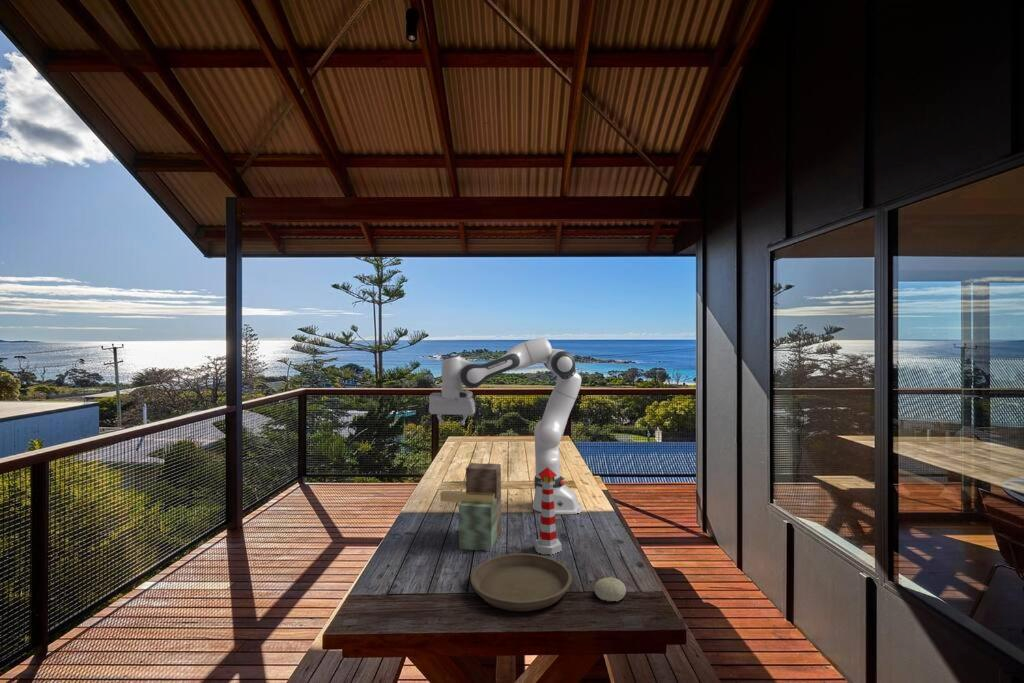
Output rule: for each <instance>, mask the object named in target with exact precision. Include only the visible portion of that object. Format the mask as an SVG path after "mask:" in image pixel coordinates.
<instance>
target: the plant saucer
mask: <svg viewBox="0 0 1024 683" xmlns="http://www.w3.org/2000/svg"><path fill="white" fill-rule="evenodd" d="M470 574H471V575H470V584H471V587H472V588H473V590H474V591H475V592H476V594H477V595H478V596H479V597H481V599H482V598H483V599H484V600H483V599H482V600H483V601H485V603H487V602H488V603H487V604H489V605H490V604H491V605H490V606H492V607H495V608H498V609H501V610H507V611H510V612H511V611H512V612H530V611H538V610H541V609H544V608H548V607H550V606H552V605H553V604H554V605H555V603H557V602H558V601H560V600H561V599H562V597H563V596H565V594H566V593H567V592H568V590H569V589H570V587H571V585H572V581H573V577H572V574H571V572H570V570H569V568H567V566H565V565H564V564H563V563H561V561H558V560H556V559H553V558H551V557H547V556H544V555H539V554H533V553H510V554H509V553H508V554H503V555H498V556H494V557H491V558H488V559H487V560H484V561H483V562H481V563H479V564H478V565H477V566H476V567H474V569H473V570H472V571H471V573H470Z"/></svg>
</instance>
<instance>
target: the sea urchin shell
mask: <svg viewBox="0 0 1024 683" xmlns="http://www.w3.org/2000/svg"><path fill="white" fill-rule="evenodd" d="M593 591H594V593H595V595H596V597H598V599H600V600H602V601H605V600H606V601H605V602H611V601H612V602H613V601H616V602H619V601H620V600H623V598H624V597H625V596H626V593H627V587H626V585H625V583H624V582H623V581H622V580H620V579H618V578H615V577H612V576H611V577H604V578H601V579H599V580H597V581H596V582H595V584H594V587H593Z"/></svg>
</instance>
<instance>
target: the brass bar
mask: <svg viewBox="0 0 1024 683" xmlns="http://www.w3.org/2000/svg"><path fill="white" fill-rule="evenodd" d="M494 501H495V493H478V492H466V491H456V490H454V491H453V490H442V491H441V492H440V502H448V503H450V502H453V503H461V502H466V503H485V504H493V503H494Z"/></svg>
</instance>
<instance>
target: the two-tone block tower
mask: <svg viewBox="0 0 1024 683" xmlns="http://www.w3.org/2000/svg"><path fill="white" fill-rule="evenodd" d="M501 464H502V463H501ZM501 464H499V463H478V462H474V463H473V462H471V463H470V464H469V465H468V466H466V468H465V492H478V493H495V501H494V503H493V504H485V503H466V502H459V505H458V541H459V542H458V549H459V550H467V549H468V551H481V550H492V551H493V549H492V548H494V547H495V545H496V543H497V541H498V539H499V537H500V536H499V535H501V534H502V470H501V468H502V465H501ZM500 533H501V534H500ZM494 544H495V545H494ZM493 546H494V547H493Z"/></svg>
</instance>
